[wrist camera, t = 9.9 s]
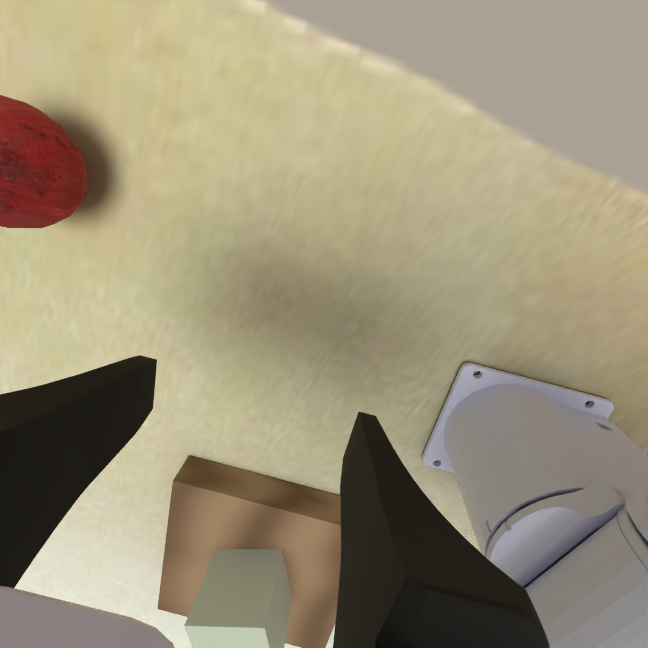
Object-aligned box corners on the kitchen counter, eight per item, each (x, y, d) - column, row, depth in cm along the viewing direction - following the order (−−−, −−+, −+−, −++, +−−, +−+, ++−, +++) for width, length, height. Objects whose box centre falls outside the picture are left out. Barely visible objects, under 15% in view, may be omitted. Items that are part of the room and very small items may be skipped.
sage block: (281, 549, 26) (264, 628, 21) (292, 597, 27) (278, 679, 23) (215, 549, 26) (184, 625, 22) (229, 596, 28) (203, 676, 23)
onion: (124, 132, 20) (-21, 95, 12) (114, 235, 22) (-15, 258, 14) (21, 97, 19) (-190, 38, 12) (21, 204, 22) (-160, 210, 14)
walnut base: (370, 503, 27) (371, 533, 25) (325, 619, 32) (322, 653, 29) (189, 455, 27) (173, 480, 25) (172, 578, 32) (157, 608, 30)
